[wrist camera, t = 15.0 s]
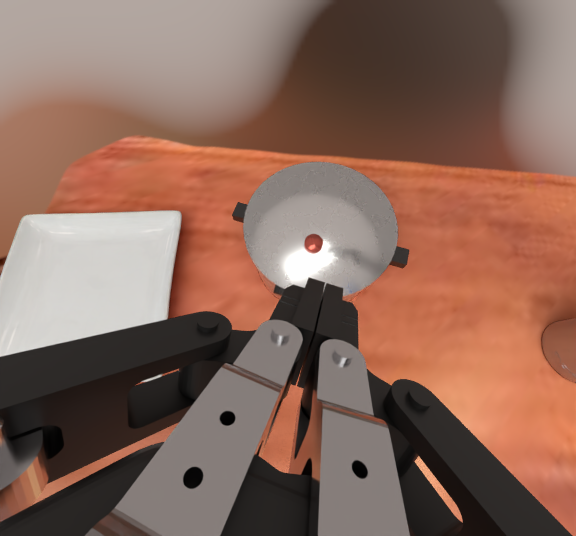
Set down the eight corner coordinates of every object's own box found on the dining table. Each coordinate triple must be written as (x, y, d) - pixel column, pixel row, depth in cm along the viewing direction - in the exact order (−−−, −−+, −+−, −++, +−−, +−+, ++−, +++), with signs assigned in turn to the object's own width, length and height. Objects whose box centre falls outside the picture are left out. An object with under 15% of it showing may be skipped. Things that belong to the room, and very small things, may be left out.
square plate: (39, 224, 50) (19, 212, 46) (189, 220, 50) (181, 208, 46) (-15, 386, 40) (-45, 387, 37) (171, 380, 40) (159, 381, 37)
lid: (377, 326, 34) (383, 323, 31) (219, 277, 36) (215, 271, 34) (406, 187, 41) (412, 177, 39) (272, 153, 43) (272, 142, 41)
